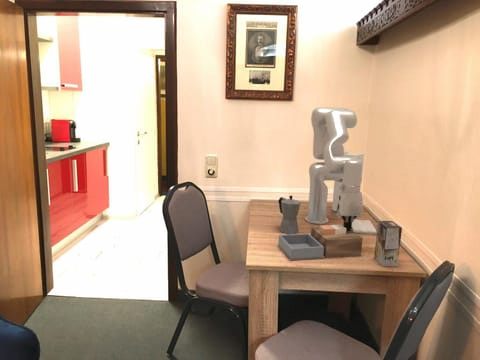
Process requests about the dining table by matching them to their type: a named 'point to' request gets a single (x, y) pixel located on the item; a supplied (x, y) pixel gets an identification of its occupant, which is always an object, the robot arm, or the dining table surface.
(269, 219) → the dining table surface
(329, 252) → the block
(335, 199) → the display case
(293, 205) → the coffeepot
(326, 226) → the tile
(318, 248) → the box
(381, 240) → the coffee box
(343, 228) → the tile
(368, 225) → the washcloth
